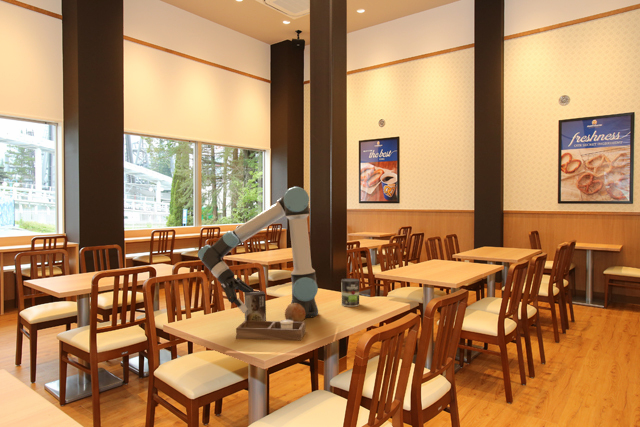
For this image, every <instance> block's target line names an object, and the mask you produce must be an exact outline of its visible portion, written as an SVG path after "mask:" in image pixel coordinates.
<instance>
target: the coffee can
mask: <svg viewBox="0 0 640 427" xmlns="http://www.w3.org/2000/svg"><path fill="white" fill-rule="evenodd" d="M340 282H341V289H340V290H341V306H343V307H345V308H346V307H348V308H349V307H353V308H354V307H359V306H360V279H358V278H342V279H341V280H340Z"/></svg>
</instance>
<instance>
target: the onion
mask: <svg viewBox="0 0 640 427" xmlns="http://www.w3.org/2000/svg"><path fill="white" fill-rule="evenodd" d="M284 318H285V320H293V322H304V320H305V319H306V318H305V309H304V308H303V307H302V306H301V305H300V304H298V303H292V304H291V303H290V304H289V303H288V305H287V307H286V309H285V311H284Z"/></svg>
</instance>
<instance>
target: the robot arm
mask: <svg viewBox="0 0 640 427" xmlns="http://www.w3.org/2000/svg"><path fill="white" fill-rule="evenodd" d="M309 203H310V195H309V193H308V191H306V189H304V188H302V187H299V186H293V187H290V188H288V189H287V190H286V191H285V193H284V195H283V196H282V197H280V198H279V199H277V200H276V203H274V204H272V205H271V206H270V207H268V208H266V209H265V210H263V211H262V212H260V213H259V214H257V215H256V216H254V217H252V218H251V219H249V220H247V221H246V222H245V223H243V224H241V225H240V226H238V227H236V228H234V230H228V231H227V232H226V233H224V234H223V235H222V236H221V237H220V238H218V240H216V242H214V243H213V244H212V245H210V244H206V245H204V246H203V247H201V248H200V249H199V250H198V252H197V257H198V258H199V259H200V261H201V262H202V264H204V266H205V267H206V268H207V269H208V271H210V272H211V274H212V276H214V277H215V278H216V279H217V281H218V282H219V283H220V284H221V285H220V287H221V289H222V290H223V291H224V293H225V296H226V298H227V300H228V302H229V303H231V304H233V303H234V305H236V307H237V308H238V309H239V310H240V311H241V313H242V314H245V312H246V311H247V310H248V308H247V307H246V306H245V303H244V302H243V301H242V300H241V299H240V298H239V297H238V296H237V293H236V290H239V291H240V292H242V293H243V294H244V293H246V292H255V291H254V288H253V287H251V286H250V285H248V284H247V283H246V282H244V281H243V280H242V279H241V278H240V277H238V276H237V277H236V278H235V273H234V271H232V269H231V268H230V267H229V265H228V264H227V263H226V262H225V261H224V260H223V258H224V257H225V256H226V255H227V254H228V253H230V252H231V251H233V249H234V248H237V247H238V246H239V245H241V244H242V243H244V242H245V241H246V240H248V239H250V238H252V237H253V236H255V235H256V234H258V233H260V232H261V231H262V230H264V229H265V228H267V227H269V226H270V225H272V224H274V223H275V222H277V221H279V219H281V218H283V217H285V218H287V220H288V224H289V232H290V233H289V234H290V241H291V242H290V243H291V244H290V245H291V253H292V263H293V265H292V266H293V270H292V271H291V273H290V276H291V301H290V304H292V303H298V304H300V305H301V306H302V307H303V308H304V309H305V319H309V318H313V317H317V316H318V315H319V308H318V305H317V302H316V300H315V297H316V295H317V293H318V290H319V287H318V286H319V285H318V284H317V276H316V270H315V269H314V268H313V267H312V266H313V265H312V258H311V247H310V245H311V244H310V238H309V226H308V217H309V216H310V215H311V214H310V206H309V205H310V204H309Z"/></svg>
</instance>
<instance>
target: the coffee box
mask: <svg viewBox="0 0 640 427" xmlns="http://www.w3.org/2000/svg"><path fill="white" fill-rule="evenodd" d="M243 294H244V305H245V306H246V307H247V308H248V310H247V311H246V312H245V313H244V321H267V304H266V301H267V299H266V298H267V297H266V293H265V291H263V290H261V291H253V292H246V293H244V292H243Z"/></svg>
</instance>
